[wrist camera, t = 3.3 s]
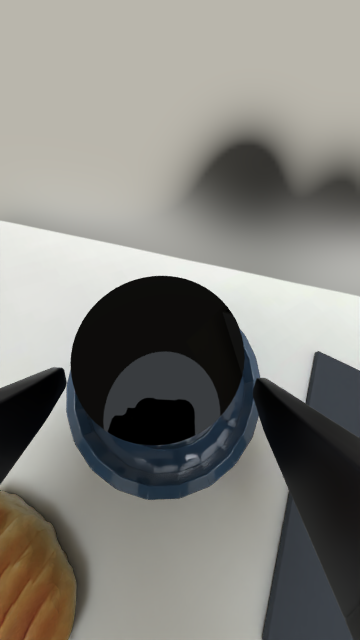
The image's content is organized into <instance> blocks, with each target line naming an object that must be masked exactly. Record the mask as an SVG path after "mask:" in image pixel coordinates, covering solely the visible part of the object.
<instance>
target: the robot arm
mask: <svg viewBox="0 0 360 640" xmlns="http://www.w3.org/2000/svg"><path fill="white" fill-rule="evenodd" d="M66 383H67V382H66V377H65V372H64V369H63V368H57V367H53V368H50V369H47V370H45V371H42V372H40V373H37V374H35V375H32V376H30V377H27V378H25V379H22V380H20V381H17V382H15V383H12V384H10V385H7V386H5V387H2V388H0V484H1V483H2V481H3V480H4V479H5V477H6V476H7V474H8V473H9V472H10V470H11V469H12V467H13V466H14V465H15V463H16V462H17V460H18V459H19V458H20V456H21V455H22V453H23V452H24V451H25V449H26V448H27V446H28V445H29V444H30V442H31V441H32V439H33V438H34V437H35V435H36V434H37V432H38V431H39V430H40V428H41V427H42V425H43V424H44V422H45V421H46V419H47V418H48V416H49V415H50V413H51V411H52V410H53V408H54V406H55V404H56V403H57V401H58V399H59V398H60V396H61V394H62V393H63V391H64V389H65V387H66ZM253 399H254V402H255V405H256V408H257V411H258V414H259V417H260V421H261V424H262V427H263V430H264V432H265V435H266V437H267V440H268V442H269V444H270V447H271V449H272V451H273V454H274V456H275V458H276V461H277V463H278V465H279V468H280V470H281V472H282V475H283V477H284V479H285V482H286V484H287V486H288V489H289V491H290V493H291V496H292V498H293V500H294V503H295V505H296V507H297V510H298V512H299V514H300V517H301V519H302V521H303V524H304V526H305V528H306V531H307V533H308V535H309V538H310V540H311V542H312V545H313V547H314V549H315V552H316V554H317V556H318V559H319V561H320V563H321V566H322V568H323V570H324V573H325V575H326V577H327V580H328V582H329V584H330V587H331V589H332V591H333V594H334V596H335V598H336V601H337V603H338V605H339V608H340V610H341V612H342V615H343V616H344V618H345V622H346V624H347V627H348V629H349V631H350V634H351V636H352V638H353V640H360V438H359V437H358V436H356V435H354V434H353V433H351V432H350V431H348V430H347V429H345V428H343V427H342V426H340V425H339V424H337V423H336V422H334V421H332V420H331V419H329V418H328V417H326V416H325V415H323V414H321V413H320V412H318V411H317V410H315V409H313V408H312V407H310V406H309V405H307V404H306V403H304V402H302V401H301V400H299V399H298V398H296V397H295V396H293V395H291V394H290V393H288V392H287V391H285V390H284V389H282V388H280V387H279V386H277V385H276V384H274V383H273V382H271V381H269V380H268V379H266V378H257V379H256V381H255V384H254V388H253Z"/></svg>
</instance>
